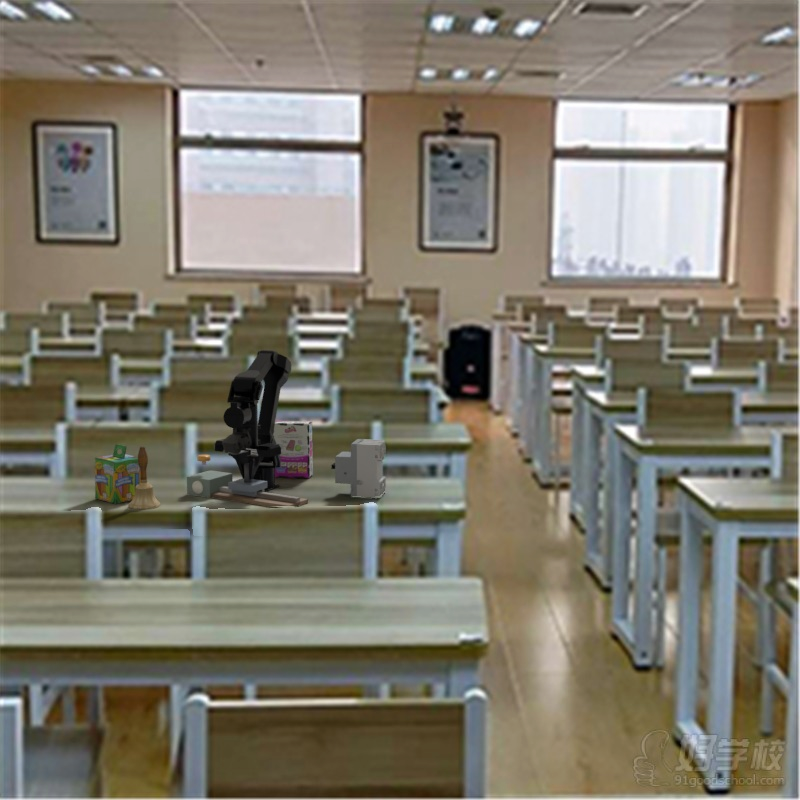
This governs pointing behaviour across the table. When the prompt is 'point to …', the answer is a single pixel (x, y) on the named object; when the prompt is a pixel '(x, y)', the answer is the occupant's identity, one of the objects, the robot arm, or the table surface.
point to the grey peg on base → (247, 484)
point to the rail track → (259, 498)
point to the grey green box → (207, 483)
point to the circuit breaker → (362, 468)
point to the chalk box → (116, 476)
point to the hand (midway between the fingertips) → (247, 478)
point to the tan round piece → (203, 458)
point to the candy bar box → (294, 448)
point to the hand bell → (143, 486)
